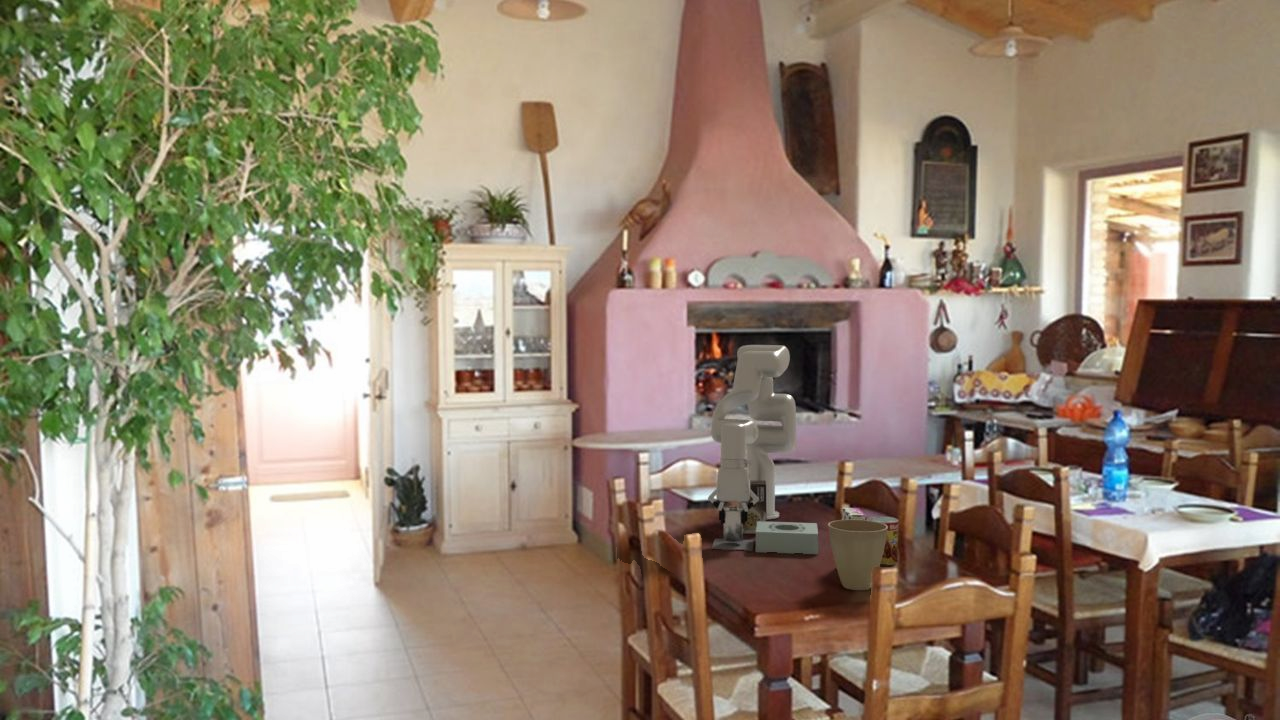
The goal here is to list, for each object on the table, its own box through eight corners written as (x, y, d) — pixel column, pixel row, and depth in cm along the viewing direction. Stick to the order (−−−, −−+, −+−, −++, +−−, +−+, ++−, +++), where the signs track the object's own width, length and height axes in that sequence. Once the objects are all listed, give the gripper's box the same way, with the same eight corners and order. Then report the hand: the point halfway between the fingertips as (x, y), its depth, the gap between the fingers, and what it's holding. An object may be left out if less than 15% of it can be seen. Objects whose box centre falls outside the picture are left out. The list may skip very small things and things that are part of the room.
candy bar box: (866, 576, 254) (867, 515, 253) (847, 576, 254) (848, 515, 253) (858, 565, 265) (859, 506, 264) (840, 565, 265) (840, 506, 264)
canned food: (898, 565, 264) (899, 522, 264) (869, 564, 266) (870, 521, 265) (896, 558, 272) (897, 516, 271) (868, 557, 273) (868, 515, 273)
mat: (714, 539, 294) (714, 538, 294) (753, 541, 292) (753, 540, 292) (711, 549, 282) (711, 548, 282) (752, 551, 281) (752, 549, 280)
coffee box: (766, 529, 308) (766, 480, 307) (766, 534, 302) (767, 483, 301) (737, 528, 309) (738, 479, 308) (738, 533, 303) (738, 483, 302)
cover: (724, 536, 291) (724, 504, 290) (743, 537, 290) (743, 504, 289) (722, 541, 285) (723, 508, 284) (742, 542, 284) (742, 508, 283)
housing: (757, 540, 293) (757, 521, 293) (816, 542, 290) (816, 523, 290) (755, 552, 279) (755, 531, 279) (818, 554, 277) (818, 533, 276)
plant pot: (899, 588, 243) (900, 526, 242) (859, 598, 234) (860, 534, 233) (854, 575, 255) (855, 516, 254) (815, 584, 246) (815, 523, 246)
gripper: (762, 462, 288) (762, 521, 289) (705, 461, 291) (705, 519, 292) (761, 466, 281) (761, 527, 282) (703, 465, 284) (703, 525, 285)
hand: (733, 522), depth 287 cm, fingers closed on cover, 5 cm apart
